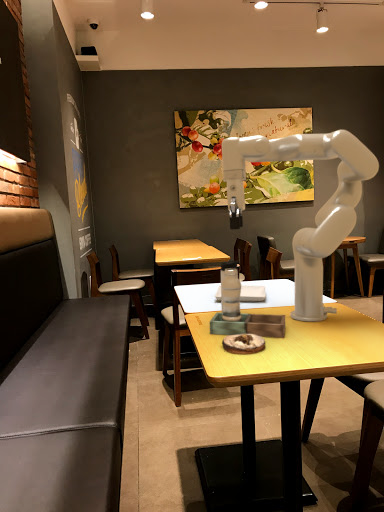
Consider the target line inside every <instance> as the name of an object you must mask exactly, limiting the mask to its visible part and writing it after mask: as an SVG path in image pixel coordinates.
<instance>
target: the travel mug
mask: <svg viewBox="0 0 384 512" xmlns="http://www.w3.org/2000/svg"><path fill="white" fill-rule="evenodd" d="M238 264H239V260H232V261H226V262H225V261H224V262H221V263H220V286H221V285H222V282H223V280H224V279H225V277H226V275H225V269H227V268H235V269H236V270H237V275H236V277H237V278H238V279H239V275H238V274H239V273H238V272H239V271H238ZM220 302H221V313H223V294H222V288H221V301H220Z"/></svg>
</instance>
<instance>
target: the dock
mask: <svg viewBox="0 0 384 512" xmlns="http://www.w3.org/2000/svg"><path fill="white" fill-rule="evenodd" d="M240 313H241V312H240ZM222 316H223V313H222V312H215V314H214V315H213V317H212V318H211V319H210V321H209V335H221V336H223V335H225V336H229V335H237V334H255V335H258V336H261V337H262V338H279V339H285V331H286V314H265V313H263V314H262V313H241V318H242V322H225V321H222Z"/></svg>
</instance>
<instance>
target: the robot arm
mask: <svg viewBox="0 0 384 512" xmlns="http://www.w3.org/2000/svg"><path fill="white" fill-rule="evenodd" d="M221 155H222V156H221V158H222V181H223V182H225V183H226V194H227V195H226V197H227V207H228V208H227V209H228V211H229V229H230V230H231V231H232V230H240V229H241V228H242V227H243V226H244V224H243V222H244V219H243V212H242V211H245V210H246V203H245V201H246V200H245V187H244V186H245V185H244V181H247V172H246V171H247V170H246V169H247V167H246V162H248V163H266V162H267V163H268V162H292V161H295V162H296V161H312V160H313V161H319V160H324V161H325V160H334V159H337V158H339V159H340V160H341V161H340V163H339V164H338V166H337V168H336V169H337V170H336V171H337V172H336V174H337V179H338V186H337V189H336V190H335V192H334V193H333V194H332V195H331V197H330V198H329V199H328V200H327V201H326V202H325V204H323V205H322V207H320V209H319V210H318V212H317V213H316V215H315V218H314V222H315V225H316V226H317V228H315V227H303V228H300V229H299V230H297V231H296V232H295V234H294V236H293V237H292V252H293V259H294V309H293V310H292V311H291V312H290V313H289V315H290V316H289V317H291V319H294V320H296V321H301V322H321V321H324V320H326V319H327V318H328V314H337V312H338V310H337V309H338V308H337V307H332V306H325V305H324V296H323V295H324V294H323V293H324V290H323V289H324V288H323V287H324V283H323V282H324V265H323V264H324V263H323V259H324V258H327V257H328V256H331V255H332V253H334V252H335V251H336V250H337V249H338V247H340V245H341V244H342V243H343V242H344V240H346V238H347V237H348V236H349V235H350V233H352V231H354V230H353V229H354V228H355V226H356V224H357V212H356V211H355V208H356V207H357V205H358V204H359V202H360V201H361V198H362V194H363V185H362V181H367V180H368V181H369V180H372V178H374V177H375V176H376V175H377V173H378V172H379V168H380V163H379V161H378V159H377V157H376V156H375V154H374V153H373V152H372V151H371V150H370V149H369V148H368V147H367V146H366V145H365V144H364V143H363V142H361V141H360V140H359V138H358V137H356V135H354V134H352V133H351V132H350V131H348V130H347V129H338V130H335V131H331V132H329V133H297V134H291V135H288V136H284V137H281V138H280V137H279V138H274V139H268V137H266V136H263V135H252V136H245V137H239V136H238V137H237V136H235V137H234V136H233V137H227V138H223V140H222V141H221Z"/></svg>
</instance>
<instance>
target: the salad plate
mask: <svg viewBox="0 0 384 512" xmlns="http://www.w3.org/2000/svg"><path fill="white" fill-rule="evenodd" d="M214 297H215V299H216V300H218V301H220V302H221V285H219V286H218V288H217V291H216V293H215V295H214ZM266 297H267V295H266V287H265V285H241V294H240V303H241V302H245V303H246V302H251V303H252V302H253V303H255V302H261V301H263V300H265V299H266Z"/></svg>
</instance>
